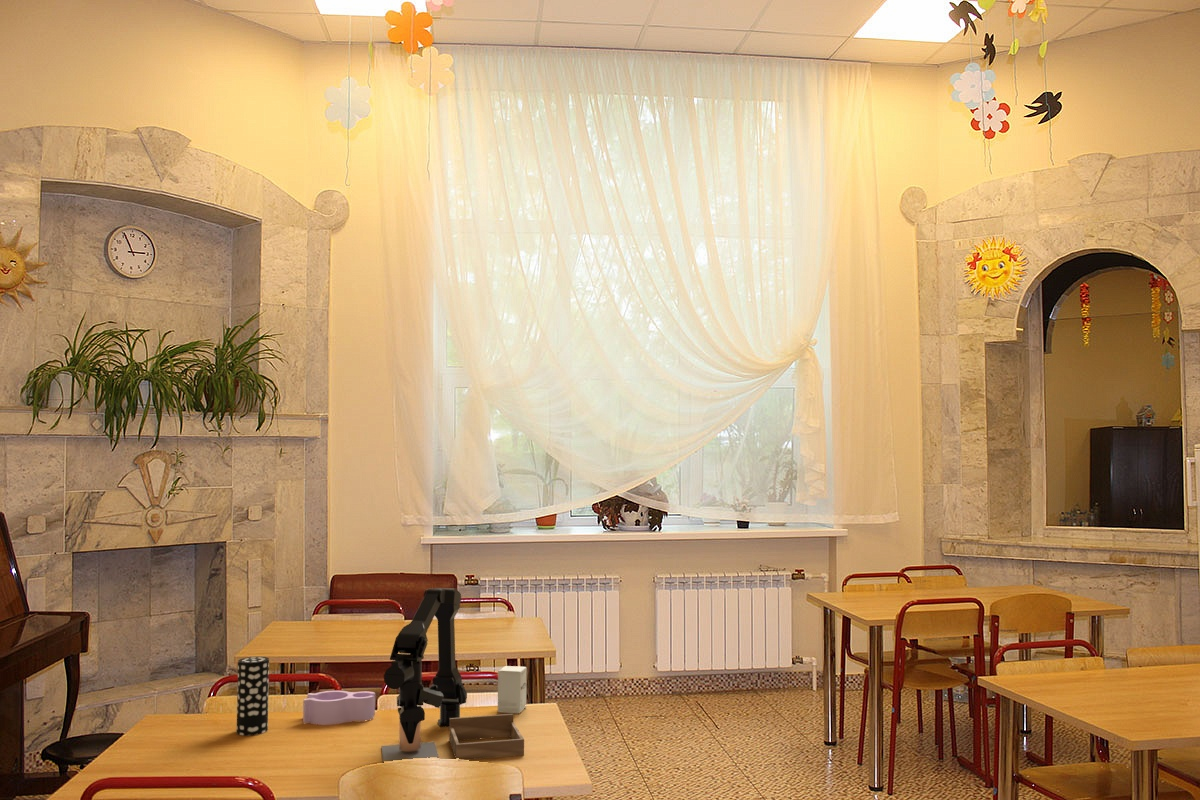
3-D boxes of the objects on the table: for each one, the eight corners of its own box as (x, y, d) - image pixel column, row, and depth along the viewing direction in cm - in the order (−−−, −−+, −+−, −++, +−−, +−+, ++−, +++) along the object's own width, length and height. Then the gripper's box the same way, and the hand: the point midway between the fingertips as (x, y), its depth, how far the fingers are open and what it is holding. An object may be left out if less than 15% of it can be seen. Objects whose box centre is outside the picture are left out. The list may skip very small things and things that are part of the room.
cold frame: (449, 740, 258) (449, 718, 258) (512, 735, 262) (512, 713, 263) (456, 760, 241) (456, 736, 241) (524, 755, 245) (524, 731, 246)
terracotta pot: (398, 745, 249) (399, 712, 249) (419, 744, 250) (420, 711, 250) (399, 752, 243) (400, 718, 244) (421, 750, 245) (421, 716, 245)
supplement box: (520, 714, 284) (520, 671, 285) (496, 712, 286) (497, 670, 287) (527, 707, 292) (527, 666, 292) (504, 706, 293) (504, 665, 294)
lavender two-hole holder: (376, 712, 287) (376, 689, 287) (371, 723, 275) (372, 699, 275) (308, 714, 284) (309, 691, 285) (301, 726, 272) (301, 702, 272)
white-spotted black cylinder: (229, 733, 264) (231, 661, 266) (251, 725, 272) (252, 655, 273) (253, 736, 261) (254, 664, 262) (274, 728, 269) (275, 658, 270)
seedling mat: (381, 747, 251) (381, 745, 251) (434, 743, 255) (434, 741, 255) (383, 764, 238) (383, 762, 238) (439, 759, 242) (439, 757, 242)
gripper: (444, 686, 241) (444, 748, 240) (438, 670, 259) (437, 727, 258) (400, 689, 238) (399, 752, 237) (397, 672, 256) (396, 730, 255)
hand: (410, 740), depth 247 cm, fingers closed on terracotta pot, 5 cm apart
